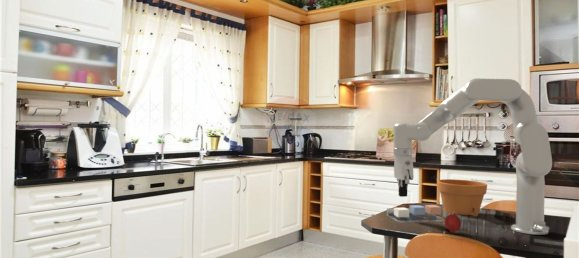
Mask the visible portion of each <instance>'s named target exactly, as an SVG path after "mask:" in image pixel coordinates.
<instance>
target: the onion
mask: <svg viewBox="0 0 579 258" xmlns="http://www.w3.org/2000/svg"><path fill="white" fill-rule="evenodd" d="M444 219H445V221H444V226H445V228H446V229H447V230H448V231H449V232H450V233H452V234H454V233H456V232H457V231H459V230H460V229H461V227H462V221H461V219H460V217H459V216H458V214H455V213H454V212H451V213H449V214H448V215H447V216H446V217H445V218H444Z"/></svg>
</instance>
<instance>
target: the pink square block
mask: <svg viewBox="0 0 579 258" xmlns="http://www.w3.org/2000/svg"><path fill="white" fill-rule="evenodd" d="M424 207H425V212H426V213H428V214H430V215H431V214H436V215H441V214H442V207H441V206H438V205H436V204H428V205H427V204H425V205H424Z"/></svg>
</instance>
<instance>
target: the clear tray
mask: <svg viewBox="0 0 579 258" xmlns="http://www.w3.org/2000/svg"><path fill="white" fill-rule="evenodd" d="M394 208H395V207H393V208H391V207H389V208H386V216H387V217H389V218H390V219H392V220H394V221H396V222H398V223H426V222H427V223H429V222H430V223H432V222H434V223H435V222H441V223H442V222H445V219H446V218H443V217H440V215H438V214H431V215H430V214H428V213H426V212H425V215H414V214H412V213H410V207H408V208H407V207H406V208H407V209H409V217H397V216H395V215H394Z"/></svg>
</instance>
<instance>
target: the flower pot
mask: <svg viewBox="0 0 579 258" xmlns="http://www.w3.org/2000/svg"><path fill="white" fill-rule="evenodd" d="M437 190H438V192H439V194H440V197H441V204H442V208H443V211H444V212H445V213H449V214H451V212H454V213H455V215H459V216H460V215H461V216H462V215H464V216H471V217H475V218H476V217H477V216H479V213H480V210H481V206H482V204H483V200H484V196H485V195H487V190H488V184H487V183H485V182H482V181H477V180H469V179H468V180H467V179H453V178H452V179H451V178H447V179H439V180H437Z"/></svg>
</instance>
